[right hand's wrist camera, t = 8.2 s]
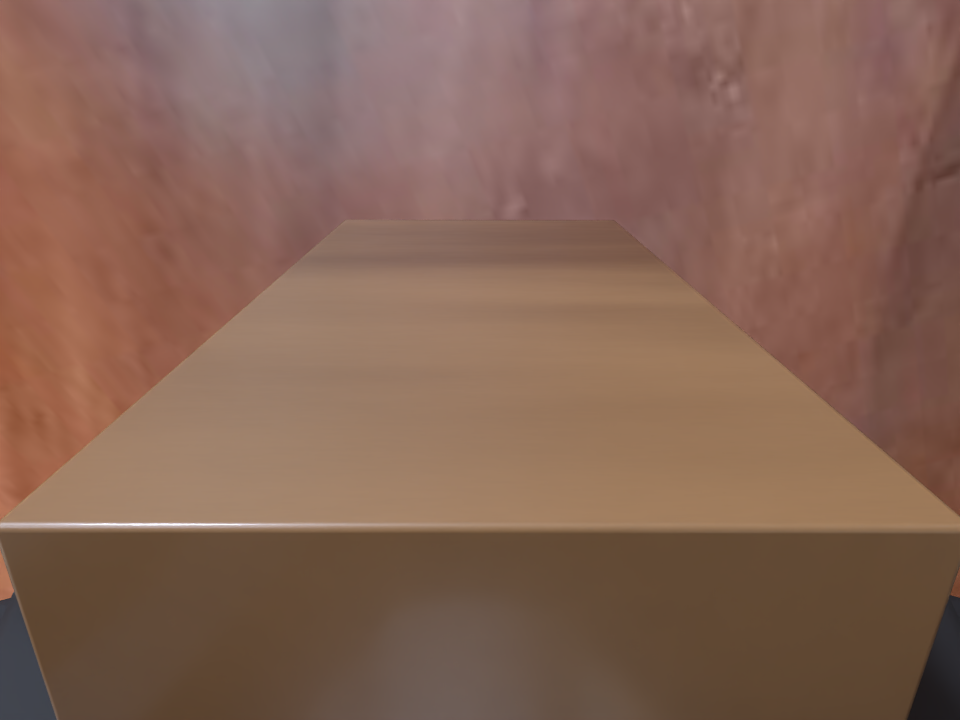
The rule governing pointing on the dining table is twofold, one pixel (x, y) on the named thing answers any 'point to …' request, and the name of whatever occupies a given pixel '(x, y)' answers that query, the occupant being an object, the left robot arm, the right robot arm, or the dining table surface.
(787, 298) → the dining table surface
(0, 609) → the right robot arm
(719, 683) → the box
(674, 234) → the dining table surface
